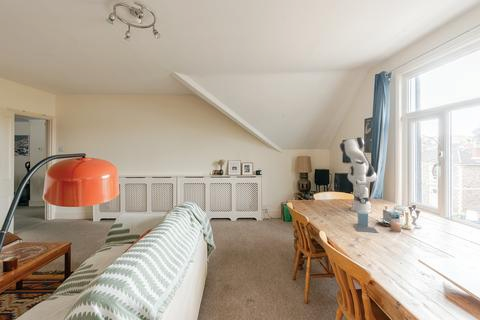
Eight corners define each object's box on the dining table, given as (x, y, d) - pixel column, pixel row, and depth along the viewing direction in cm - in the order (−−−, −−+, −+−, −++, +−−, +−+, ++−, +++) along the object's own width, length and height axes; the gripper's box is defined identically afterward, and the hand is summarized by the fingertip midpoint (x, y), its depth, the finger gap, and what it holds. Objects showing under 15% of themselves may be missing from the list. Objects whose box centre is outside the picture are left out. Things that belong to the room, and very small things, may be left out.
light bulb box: (400, 226, 166) (400, 212, 165) (391, 226, 166) (391, 212, 166) (390, 221, 177) (390, 208, 176) (382, 221, 177) (382, 208, 176)
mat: (353, 225, 167) (353, 225, 167) (374, 227, 163) (374, 227, 163) (356, 231, 157) (356, 230, 157) (378, 233, 153) (378, 232, 153)
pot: (389, 228, 161) (389, 221, 160) (398, 229, 159) (398, 221, 158) (392, 231, 155) (392, 223, 155) (402, 232, 153) (402, 224, 153)
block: (357, 224, 172) (357, 211, 172) (366, 224, 170) (366, 212, 170) (359, 226, 167) (359, 213, 167) (367, 226, 165) (367, 214, 165)
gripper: (353, 179, 190) (353, 195, 190) (358, 182, 170) (358, 200, 170) (361, 179, 188) (361, 195, 188) (367, 182, 168) (367, 200, 168)
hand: (359, 197), depth 179 cm, fingers open, 8 cm apart
